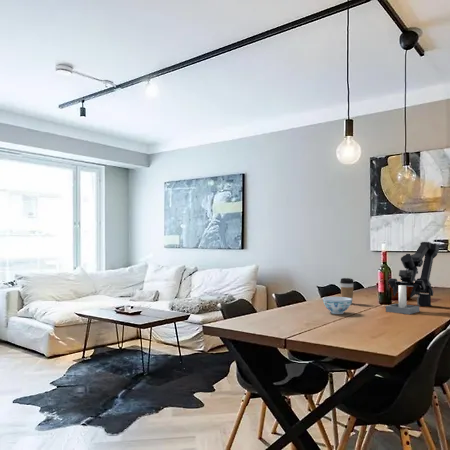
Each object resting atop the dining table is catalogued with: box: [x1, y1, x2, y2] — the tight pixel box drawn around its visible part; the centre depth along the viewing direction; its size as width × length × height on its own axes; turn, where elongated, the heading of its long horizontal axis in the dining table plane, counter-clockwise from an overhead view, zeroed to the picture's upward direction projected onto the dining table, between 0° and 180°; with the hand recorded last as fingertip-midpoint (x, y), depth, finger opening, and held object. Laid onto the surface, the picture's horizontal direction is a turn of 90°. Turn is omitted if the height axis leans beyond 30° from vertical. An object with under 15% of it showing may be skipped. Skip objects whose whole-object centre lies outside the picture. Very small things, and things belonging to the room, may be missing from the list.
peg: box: [397, 285, 408, 308], centre depth 243 cm, size 4×4×14 cm
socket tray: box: [385, 303, 420, 315], centre depth 243 cm, size 13×13×3 cm
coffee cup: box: [339, 277, 355, 305], centre depth 273 cm, size 8×8×15 cm
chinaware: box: [322, 296, 353, 315], centre depth 238 cm, size 15×15×8 cm
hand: (402, 296), depth 243 cm, fingers open, 9 cm apart
